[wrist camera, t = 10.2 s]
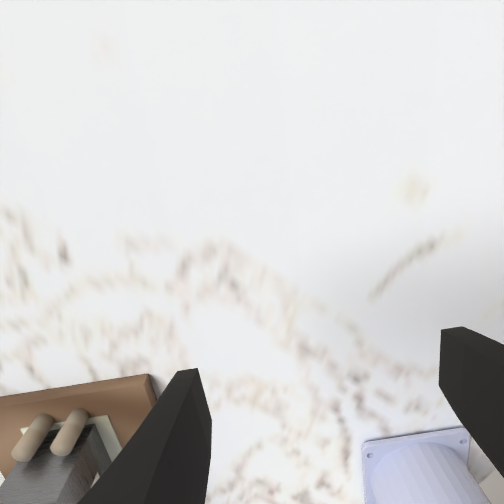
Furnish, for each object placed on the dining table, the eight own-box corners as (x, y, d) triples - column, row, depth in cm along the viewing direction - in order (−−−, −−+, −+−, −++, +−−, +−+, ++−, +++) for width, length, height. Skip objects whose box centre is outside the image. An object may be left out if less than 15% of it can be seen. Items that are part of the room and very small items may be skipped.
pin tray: (199, 524, 28) (193, 577, 24) (60, 545, 28) (36, 600, 25) (147, 373, 22) (131, 415, 19) (-24, 400, 22) (-70, 447, 19)
